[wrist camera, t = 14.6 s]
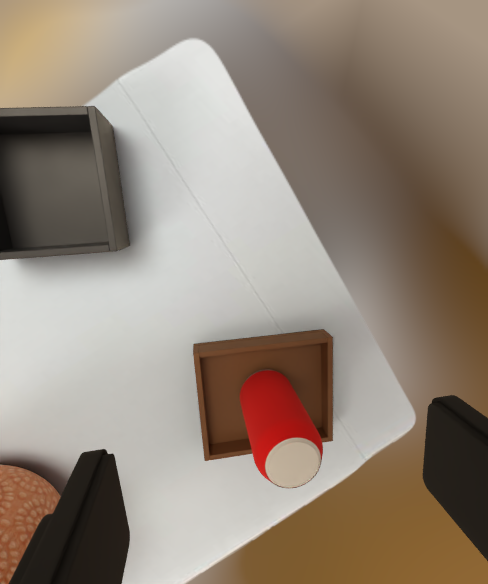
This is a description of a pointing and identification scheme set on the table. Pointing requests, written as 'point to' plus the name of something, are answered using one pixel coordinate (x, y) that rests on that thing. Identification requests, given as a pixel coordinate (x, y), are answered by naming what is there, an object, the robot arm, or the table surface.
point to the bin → (59, 183)
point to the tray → (247, 360)
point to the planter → (21, 513)
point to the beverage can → (280, 430)
